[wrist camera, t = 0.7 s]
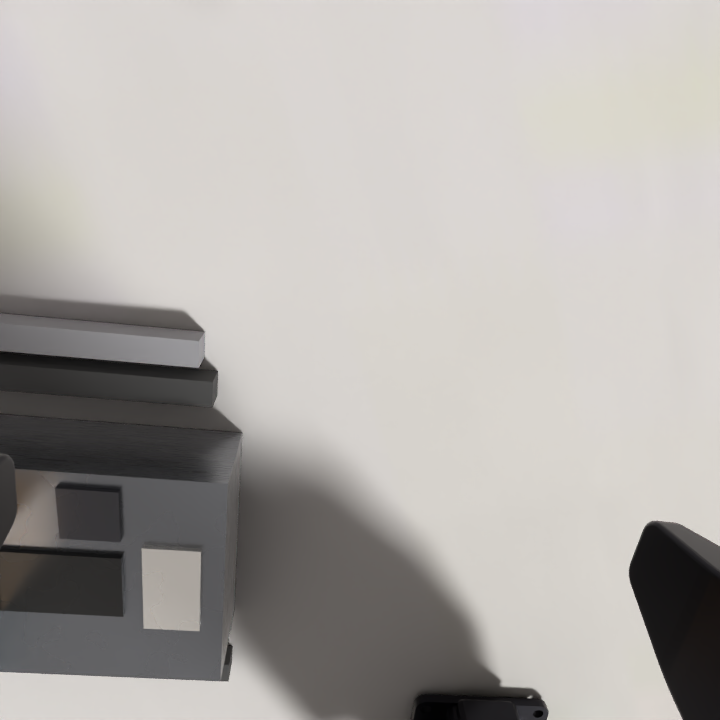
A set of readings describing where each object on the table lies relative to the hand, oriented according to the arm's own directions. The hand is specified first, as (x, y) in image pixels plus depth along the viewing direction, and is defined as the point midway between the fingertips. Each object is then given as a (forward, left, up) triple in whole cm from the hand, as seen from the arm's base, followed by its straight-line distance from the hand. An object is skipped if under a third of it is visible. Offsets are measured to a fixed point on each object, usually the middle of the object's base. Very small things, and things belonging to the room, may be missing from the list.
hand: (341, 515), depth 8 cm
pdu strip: (-11, +12, -14) cm, 21 cm away
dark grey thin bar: (-4, +12, -14) cm, 19 cm away
